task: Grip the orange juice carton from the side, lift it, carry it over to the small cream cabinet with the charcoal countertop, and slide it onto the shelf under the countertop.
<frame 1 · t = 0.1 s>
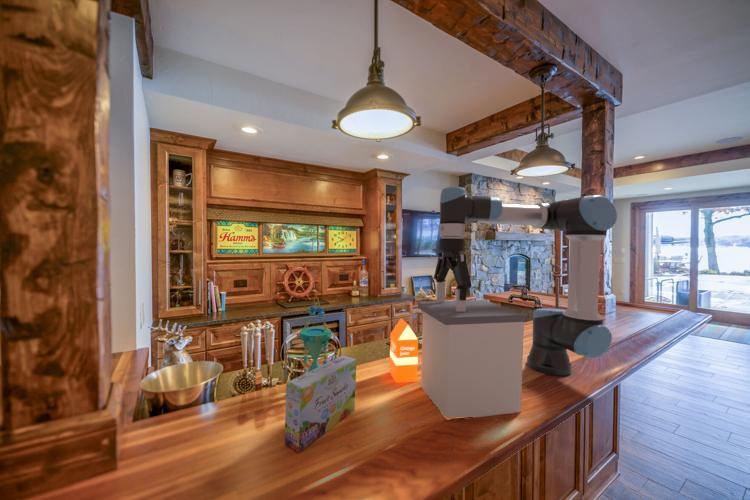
hand: (450, 306, 93), 28 cm above the counter, tool pointing down, fingers open, 13 cm apart
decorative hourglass: (314, 389, 96), on the counter
orange juice: (403, 377, 106), on the counter
snack box: (323, 427, 77), on the counter
under-counter cabinet: (467, 398, 92), on the counter
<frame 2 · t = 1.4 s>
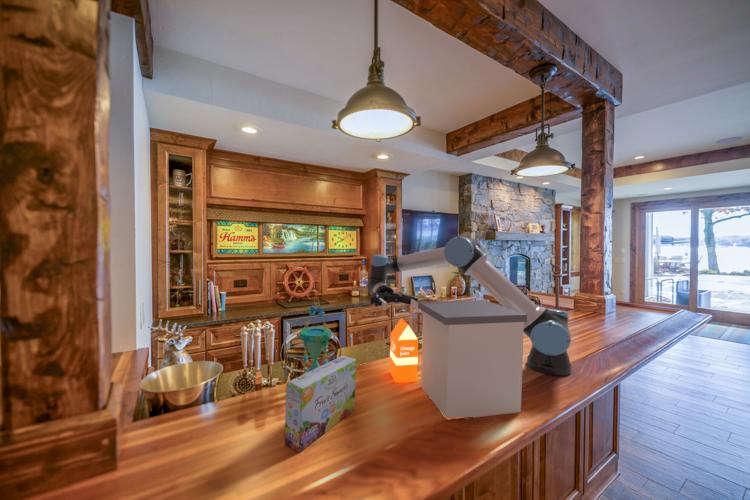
hand: (402, 306, 111), 24 cm above the counter, tool horizontal, fingers open, 13 cm apart
nothing on the counter moved.
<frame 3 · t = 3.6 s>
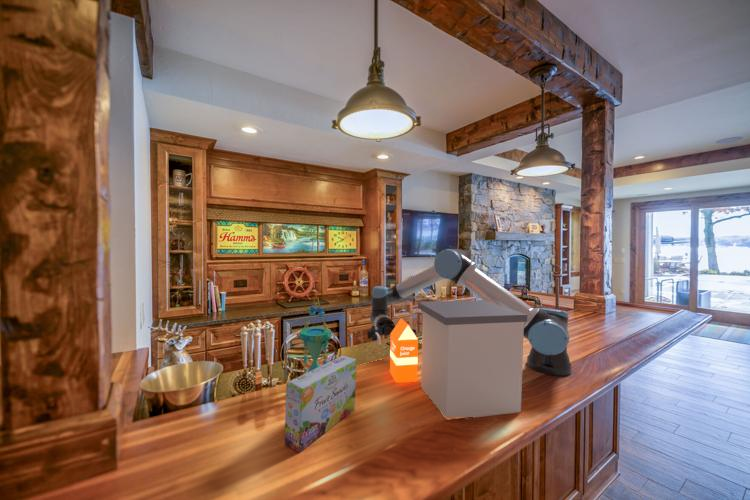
hand: (397, 340, 112), 11 cm above the counter, tool horizontal, fingers open, 13 cm apart
nothing on the counter moved.
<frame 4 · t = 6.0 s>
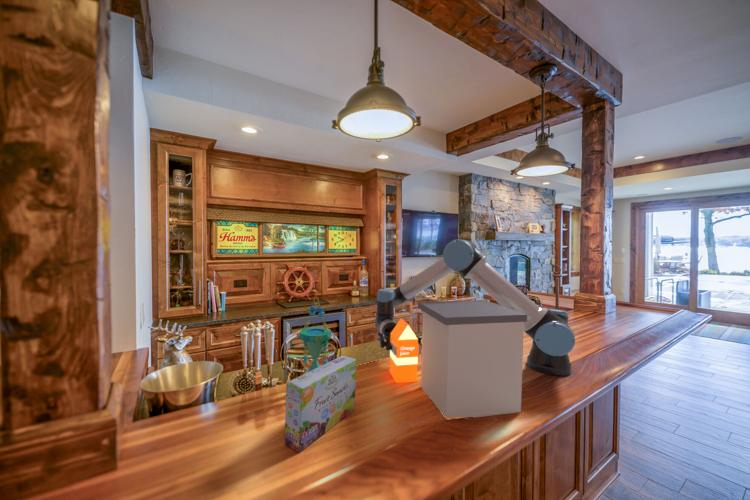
hand: (408, 350, 101), 11 cm above the counter, tool horizontal, fingers closed on orange juice, 8 cm apart
orange juice: (403, 376, 106), on the counter, touching gripper
everything else where it was.
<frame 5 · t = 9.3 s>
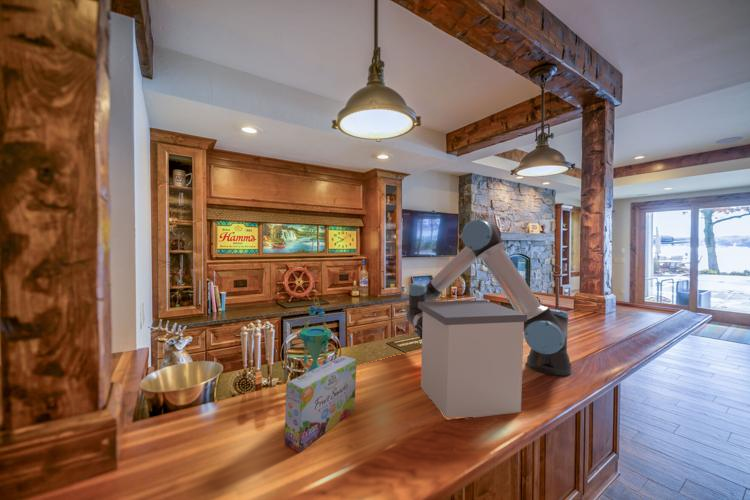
hand: (449, 341, 104), 13 cm above the counter, tool horizontal, fingers closed on orange juice, 8 cm apart
orange juice: (442, 367, 109), point 2 cm above the counter, touching gripper
everything else where it was.
when the fingers open (13 cm above the counter, at t = 12.9 s): orange juice drops 2 cm, resting on under-counter cabinet.
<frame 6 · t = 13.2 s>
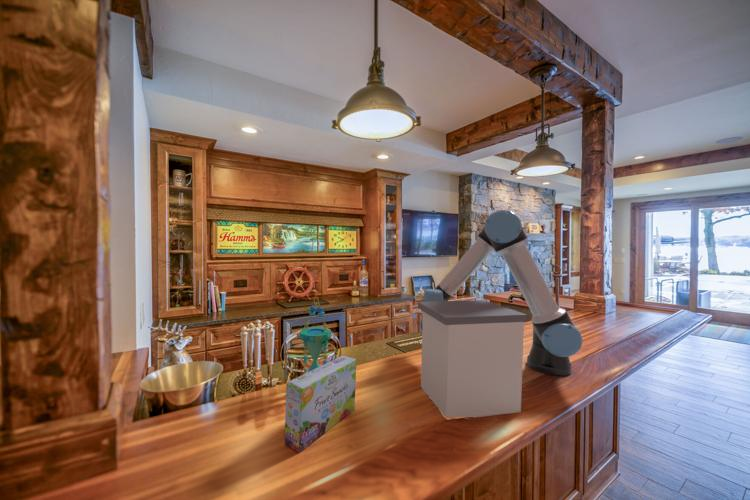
hand: (475, 360, 88), 13 cm above the counter, tool horizontal, fingers open, 11 cm apart
orange juice: (467, 396, 92), point 1 cm above the counter, touching under-counter cabinet
everything else where it was.
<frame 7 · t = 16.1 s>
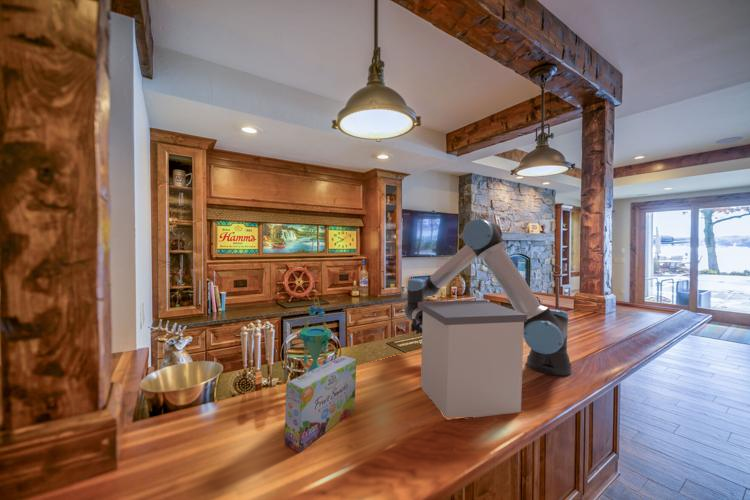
hand: (445, 332, 107), 16 cm above the counter, tool horizontal, fingers open, 13 cm apart
nothing on the counter moved.
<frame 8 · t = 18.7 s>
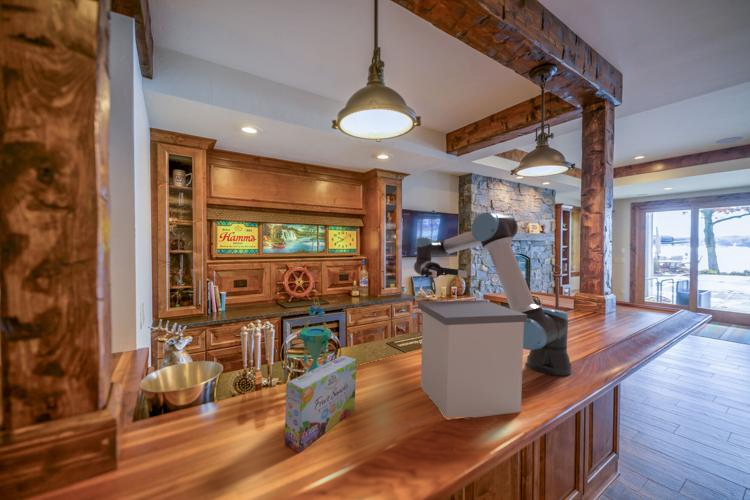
hand: (451, 274, 123), 35 cm above the counter, tool horizontal, fingers open, 13 cm apart
nothing on the counter moved.
at the end: orange juice inside the target area on the under-counter cabinet (1.0 cm from its centre), point 0.6 cm above the under-counter cabinet's base; orange juice tilted 0°; the gripper is holding nothing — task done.
